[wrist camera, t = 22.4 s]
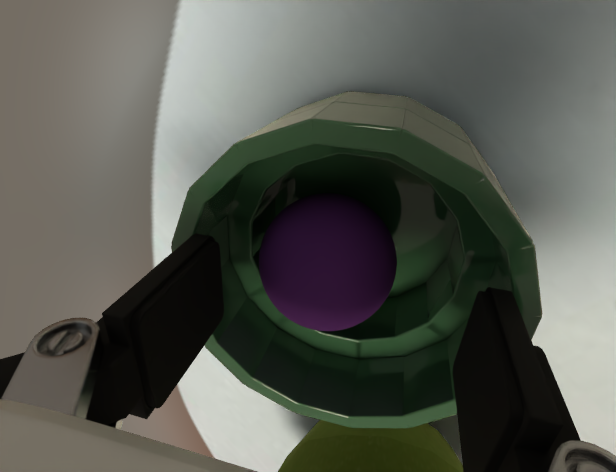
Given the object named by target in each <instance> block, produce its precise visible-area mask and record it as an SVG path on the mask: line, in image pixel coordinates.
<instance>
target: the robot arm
mask: <svg viewBox="0 0 616 472" xmlns="http://www.w3.org/2000/svg"><path fill="white" fill-rule="evenodd" d="M102 315H103V317H102V318H101V319H100V320H99V321H98V322H94V321H93V320H91V319H87V318H71V319H66V320H62V321H59V322H57V323H54V324H52V325H50V326H48V327H46V328H44V329H43V330H42V331H40V332H39V333H38V334H37V335H36V336H35V337H34V338H33V339H32V341H31V342H30V344H29V346H28V348H27V350H26V352H24V353H21V354H18V355H14V356H11V357H7V358H3V359H0V472H257V471H253V470H250V469H247V468H244V467H240V466H237V465H234V464H231V463H227V462H224V461H221V460H218V459H215V458H211V457H208V456H205V455H201V454H198V453H195V452H191V451H189V450H185V449H182V448H179V447H175V446H172V445H169V444H165V443H162V442H159V441H156V440H152V439H149V438H146V437H142V436H139V435H136V434H133V433H129V432H126V431H123V430H121V429H122V423H123V419H124V418H126V417H127V416H128V415H129V414H131V415H135V416H138V417H141V418H145V419H147V418H148V417H149V416H150V414H151V413H152V411H153V410H154V408H160V407H161V406H162V405H163V404H164V402H165V401H166V399H167V398H168V397H169V395H170V394H171V392H172V391H173V389H174V388H175V387H176V385H177V384H178V382H179V381H180V379H181V378H182V376H183V375H184V374H185V372H186V371H187V369H188V368H189V366H190V365H191V364H192V362H193V361H194V359H195V358H196V356H197V355H198V354H199V352H200V351H201V349H202V348H203V346H204V345H205V344H206V342H207V341H208V339H209V338H210V336H211V335H212V334H213V332H214V331H215V329H216V328H217V326H218V325H219V324H220V322H221V320H222V318H223V315H224V301H223V286H222V271H221V256H220V245H219V243H218V242H215V239H214V238H213V237H212V236H206V235H201V234H193V235H192V236H191V237H190V238H188V239H187V240H186V241H185V242H184V243H183V244H182V245H180V246H179V247H178V248H177V249H176V250H175V251H173V252H172V253H171V254H170V255H169V256H168V257H167V258H165V259H164V260H163V261H162V262H161V263H160V264H158V265H157V266H156V267H155V268H154V269H153V270H151V271H150V272H149V273H148V274H147V275H146V276H145V277H143V278H142V279H141V280H140V281H139V282H138V283H136V284H135V285H134V286H133V287H132V288H131V289H130V290H128V291H127V292H126V293H125V294H124V295H123V296H121V297H120V298H119V299H118V300H117V301H116V302H115V303H113V304H112V305H111V306H110V307H109V308H108V309H106V310H105V311H104V312H103V313H102ZM453 382H454V391H455V399H456V408H457V417H458V426H459V435H460V444H461V453H462V462H463V471H464V472H616V456H614V455H613V454H612V453H610V452H609V451H607V450H605V449H603V448H601V447H599V446H597V445H595V444H591V443H588V442H584V441H581V440H580V438H579V435H578V433H577V430H576V428H575V426H574V423H573V421H572V418H571V416H570V413H569V411H568V409H567V406H566V404H565V401H564V399H563V397H562V394H561V392H560V389H559V387H558V384H557V382H556V380H555V377H554V375H553V372H552V370H551V368H550V365H549V363H548V360H547V358H546V355H545V353H544V352H543V350H542V349H541V348H540V347H538V346H533V344H532V341H531V339H530V336H529V334H528V331H527V329H526V326H525V323H524V321H523V318H522V316H521V313H520V310H519V308H518V305H517V303H516V300H515V297H514V295H513V293H512V292H511V291H507V290H502V289H496V288H491V287H488V288H487V289H486V291H485V292H483V291H479V292H478V293H477V296H476V299H475V302H474V305H473V308H472V311H471V313H470V316H469V319H468V322H467V325H466V328H465V331H464V334H463V337H462V340H461V343H460V346H459V349H458V352H457V355H456V358H455V360H454V365H453Z"/></svg>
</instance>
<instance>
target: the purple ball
mask: <svg viewBox="0 0 616 472" xmlns="http://www.w3.org/2000/svg"><path fill="white" fill-rule="evenodd" d="M396 267H397V258H396V250H395V246H394V242H393V239H392V236H391V234H390V232H389V230H388V228H387V227H386V225H385V223H384V222H383V221H382V219H381V218H380V217H379V216H378V215H377V214H376V213H375V212H374V211H373V210H372V209H371V208H369V207H368V206H367V205H365V204H364V203H362V202H360V201H359V200H356V199H354V198H351V197H348V196H345V195H341V194H333V193H322V194H315V195H310V196H307V197H304V198H301V199H299V200H297V201H295V202H293V203H292V204H290V205H288V206H287V207H286V208H284V209H283V210H282V211H281V212H280V213H279V214H278V215H277V216H276V217H275V218H274V219H273V221H272V222H271V224H270V225H269V227H268V229H267V230H266V233H265V235H264V237H263V240H262V243H261V248H260V252H259V271H260V277H261V281H262V284H263V287H264V289H265V292H266V294H267V295H268V297H269V299H270V300H271V302H272V303H273V304H274V306H275V307H276V308H277V309H278V310H279V311H280V312H281V313H282V314H283V315H284V316H285V317H287V318H288V319H290V320H291V321H293V322H295V323H297V324H299V325H301V326H303V327H306V328H309V329H313V330H318V331H337V330H343V329H347V328H350V327H353V326H355V325H357V324H359V323H361V322H363V321H365V320H366V319H368V318H369V317H370V316H372V315H373V314H374V313H375V312H376V311H377V310H378V309H379V308H380V307H381V305H382V304H383V303H384V301H385V300H386V298H387V297H388V295H389V293H390V291H391V288H392V286H393V283H394V279H395V275H396Z"/></svg>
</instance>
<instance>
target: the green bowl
mask: <svg viewBox="0 0 616 472" xmlns="http://www.w3.org/2000/svg"><path fill="white" fill-rule="evenodd" d="M322 193H333V194H341V195H345V196H348V197H351V198H354V199H356V200H359V201H360V202H362V203H364V204H365V205H367V206H368V207H369V208H371V209H372V210H373V211H374V212H375V213H376V214H377V215H378V216H379V217H380V218H381V219H382V221H383V222H384V223H385V225H386V227H387V228H388V230H389V232H390V234H391V236H392V239H393V242H394V246H395V250H396V258H397V267H396V275H395V279H394V283H393V286H392V288H391V291H390V293H389V295H388V297H387V298H386V300H385V301H384V303H383V304H382V305H381V307H380V308H379V309H378V310H377V311H376V312H375V313H374V314H373V315H372V316H370V317H369V318H368V319H366V320H365V321H363V322H361V323H359V324H357V325H355V326H353V327H350V328H347V329H343V330H337V331H318V330H313V329H309V328H306V327H303V326H301V325H299V324H297V323H295V322H293V321H291V320H290V319H288V318H287V317H285V316H284V315H283V314H282V313H281V312H280V311H279V310H278V309H277V308H276V307H275V306H274V304H273V303H272V302H271V300H270V299H269V297H268V295H267V294H266V292H265V289H264V287H263V284H262V281H261V277H260V271H259V252H260V248H261V243H262V240H263V237H264V235H265V233H266V230H267V229H268V227H269V225H270V224H271V222H272V221H273V219H274V218H275V217H276V216H277V215H278V214H279V213H280V212H281V211H282V210H283V209H284V208H286V207H287V206H288V205H290V204H292V203H293V202H295V201H297V200H299V199H301V198H304V197H307V196H310V195H315V194H322ZM193 234H201V235H206V236H212V237H213V238H214V239H215V242H218V243H219V245H220V256H221V271H222V286H223V301H224V315H223V318H222V320H221V322H220V324H219V325H218V326H217V328H216V329H215V331H214V332H213V334H212V335H211V336H210V338H209V339H208V341H207V342H206V344H205V347H206V348H207V349H208V350H209V351H210V352H211V353H212V354H213V355H214V356H215V357H216V358H217V359H218V360H219V361H220V362H221V363H222V364H223V365H224V366H225V367H226V368H227V369H228V370H229V371H230V372H231V373H232V374H233V375H234V376H235V377H237V378H238V379H239V380H240V381H241V382H242V383H243V384H244V385H246V386H247V387H249V388H251V389H253V390H255V391H256V392H258V393H260V394H262V395H263V396H265V397H267V398H269V399H271V400H272V401H274V402H276V403H278V404H279V405H281V406H283V407H285V408H287V409H288V410H290V411H292V412H295V413H297V414H301V415H304V416H308V417H312V418H315V419H319V420H323V421H327V422H330V423H334V424H338V425H341V426H345V427H351V428H400V429H408V428H409V427H410V428H413V427H416V426H419V425H423V424H426V423H430V422H433V421H436V420H440V419H443V418H446V417H450V416H453V415H456V414H457V408H456V399H455V391H454V382H453V365H454V360H455V358H456V355H457V352H458V349H459V346H460V343H461V340H462V337H463V334H464V331H465V328H466V325H467V322H468V319H469V316H470V313H471V311H472V308H473V305H474V302H475V299H476V296H477V293H478V292H479V291H483V292H485V291H486V289H487V288H488V287H491V288H496V289H502V290H507V291H511V292H512V293H513V295H514V297H515V300H516V303H517V305H518V308H519V310H520V313H521V316H522V318H523V321H524V323H525V326H526V329H527V331H528V334H529V336H530V339H532V337H533V335H534V333H535V331H536V329H537V326H538V324H539V322H540V320H541V318H542V306H541V297H540V288H539V279H538V269H537V260H536V251H535V245H534V243H533V240H532V239H531V237H530V235H529V234H528V232H527V230H526V228H525V227H524V225H523V223H522V221H521V220H520V218H519V216H518V215H517V213H516V211H515V209H514V208H513V206H512V204H511V203H510V201H509V199H508V197H507V196H506V194H505V192H504V190H503V189H502V187H501V185H500V184H499V182H498V180H497V178H496V177H495V175H494V173H493V172H492V170H491V169H490V167H489V166H488V164H487V163H486V162H485V160H484V159H483V157H482V156H481V154H480V153H479V152H478V150H477V149H476V147H475V146H474V145H473V143H472V142H471V140H470V139H469V137H468V136H467V135H466V133H465V132H464V130H463V129H462V127H460V126H459V125H458V124H456V123H454V122H453V121H451V120H449V119H447V118H445V117H444V116H442V115H440V114H438V113H437V112H435V111H433V110H431V109H429V108H428V107H426V106H424V105H422V104H421V103H419V102H417V101H415V100H414V99H412V98H410V97H407V96H399V95H388V94H377V93H366V92H355V91H349V92H348V91H346V92H344V93H341V94H338V95H335V96H332V97H329V98H326V99H323V100H320V101H317V102H314V103H311V104H308V105H305V106H302V107H299V108H297V109H295V110H293V111H291V112H290V113H288V114H286V115H284V116H282V117H281V118H279V119H277V120H275V121H274V122H272V123H270V124H268V125H267V126H265V127H263V128H261V129H259V130H258V131H256V132H254V133H252V134H251V135H249V136H247V137H245V138H243V139H242V140H240V141H238V142H236V143H235V144H233V145H232V146H231V147H230V148H229V149H228V150H227V151H226V152H225V153H224V154H223V155H222V156H221V157H220V158H219V159H218V160H217V161H216V162H215V163H214V164H213V165H212V166H211V167H210V168H209V169H208V170H207V171H206V172H205V173H204V174H203V175H202V176H201V177H200V178H199V179H198V180H197V181H196V182H195V183H194V184H193V185H192V186H191V187H190V188H189V190H188V192H187V196H186V199H185V202H184V205H183V208H182V212H181V215H180V218H179V221H178V224H177V227H176V231H175V234H174V237H173V240H172V246H171V248H172V252H173V251H175V250H176V249H177V248H178V247H179V246H180V245H182V244H183V243H184V242H185V241H186V240H187V239H188V238H190V237H191V236H192V235H193Z"/></svg>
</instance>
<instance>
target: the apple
mask: <svg viewBox="0 0 616 472" xmlns="http://www.w3.org/2000/svg"><path fill="white" fill-rule="evenodd" d="M278 472H464V471H463V465H462V463H461V462H460V460H459V458H458V457H457V455H456V454H455V452H454V450H453V449H452V447H451V446H450V445H449V444H448V442H447V441H446V440H445V439H444V437H443V436H442V435H441V434H440V433H439V431H438V430H436V429H435V428H433V427H432V426H431V425H429V424H428V423H426V424H423V425H419V426H416V427H413V428H410V427H409V428H408V429H400V428H351V427H345V426H341V425H338V424H334V423H330V422H327V421H323V420H319V421H318V423H317V424H316V425H315V426H314V427H313V428H312V429H311V430H310V431H309V433H308V434H307V435H306V436H305V437H304V438H303V439H302V440H301V441H300V443H299V444H298V445H297V446H296V447H295V448H294V449H293V450H292V452H291V453H290V454H289V455H288V456H287V458H286V459H285V461H284V463H283V464H282V466H281V468H280V469H279V471H278Z"/></svg>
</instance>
